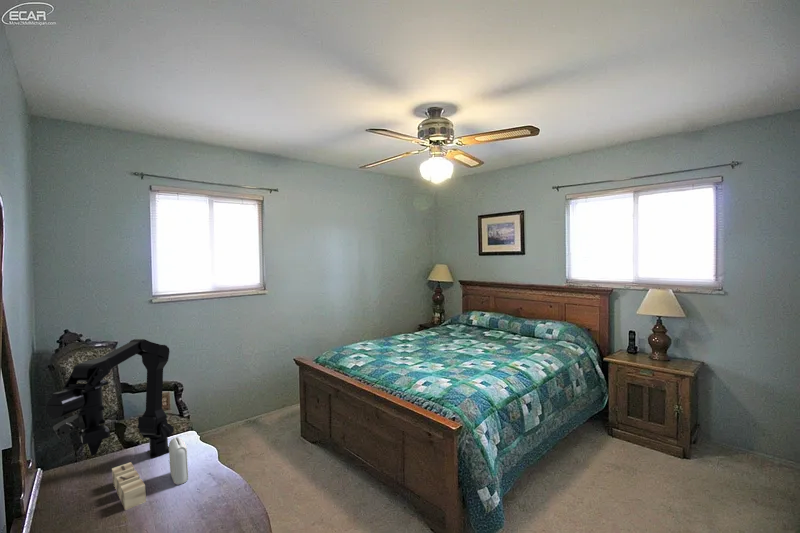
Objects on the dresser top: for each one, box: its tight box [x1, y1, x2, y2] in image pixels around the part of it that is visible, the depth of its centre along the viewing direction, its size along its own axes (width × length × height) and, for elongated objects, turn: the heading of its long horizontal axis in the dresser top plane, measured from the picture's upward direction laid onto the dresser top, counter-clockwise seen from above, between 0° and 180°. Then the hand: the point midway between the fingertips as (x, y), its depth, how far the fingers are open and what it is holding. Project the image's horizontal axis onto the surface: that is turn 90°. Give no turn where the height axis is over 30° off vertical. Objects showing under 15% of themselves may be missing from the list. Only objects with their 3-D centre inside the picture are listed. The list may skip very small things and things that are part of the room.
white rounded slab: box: [168, 436, 189, 485], centre depth 122 cm, size 10×4×12 cm, turn 39°
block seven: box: [116, 469, 141, 501], centre depth 115 cm, size 5×5×5 cm
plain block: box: [120, 478, 147, 511], centre depth 110 cm, size 5×5×5 cm
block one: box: [111, 462, 135, 489], centre depth 120 cm, size 5×5×5 cm
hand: (93, 455), depth 114 cm, fingers closed
